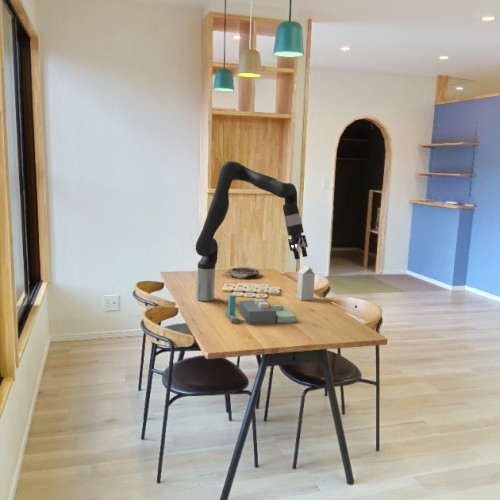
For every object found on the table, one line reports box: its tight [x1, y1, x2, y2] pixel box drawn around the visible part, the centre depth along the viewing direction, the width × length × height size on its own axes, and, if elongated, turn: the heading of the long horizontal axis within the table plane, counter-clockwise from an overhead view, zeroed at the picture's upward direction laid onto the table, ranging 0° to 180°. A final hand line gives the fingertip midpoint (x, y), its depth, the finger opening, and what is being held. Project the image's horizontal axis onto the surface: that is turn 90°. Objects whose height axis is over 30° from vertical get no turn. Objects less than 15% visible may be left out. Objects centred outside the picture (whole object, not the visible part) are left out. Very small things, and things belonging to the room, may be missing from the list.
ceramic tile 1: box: [258, 301, 269, 309], centre depth 232 cm, size 4×4×2 cm
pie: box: [224, 266, 263, 280], centre depth 325 cm, size 28×27×5 cm
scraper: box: [224, 294, 239, 324], centre depth 231 cm, size 3×14×12 cm, turn 15°
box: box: [271, 304, 297, 324], centre depth 238 cm, size 9×18×3 cm, turn 15°
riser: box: [238, 299, 277, 325], centre depth 235 cm, size 13×18×6 cm
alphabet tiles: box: [221, 282, 281, 300], centre depth 286 cm, size 33×33×2 cm
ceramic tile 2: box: [254, 298, 266, 305], centre depth 237 cm, size 4×4×2 cm
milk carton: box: [296, 263, 316, 301], centre depth 272 cm, size 7×7×19 cm
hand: (301, 258), depth 232 cm, fingers open, 8 cm apart
